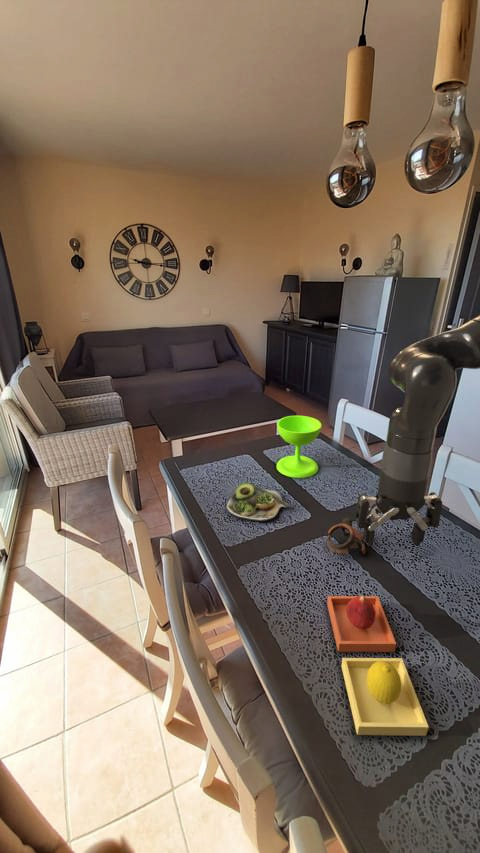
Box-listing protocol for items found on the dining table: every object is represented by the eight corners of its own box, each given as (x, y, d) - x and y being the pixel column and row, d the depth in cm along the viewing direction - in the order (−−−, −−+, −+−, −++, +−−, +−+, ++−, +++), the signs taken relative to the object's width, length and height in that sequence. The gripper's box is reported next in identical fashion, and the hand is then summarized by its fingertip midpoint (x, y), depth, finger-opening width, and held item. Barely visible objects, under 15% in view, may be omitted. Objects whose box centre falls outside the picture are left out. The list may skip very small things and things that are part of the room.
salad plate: (295, 496, 121) (295, 484, 119) (281, 529, 106) (281, 517, 104) (241, 485, 127) (240, 474, 126) (221, 516, 112) (220, 504, 110)
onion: (379, 633, 75) (384, 605, 72) (354, 641, 74) (358, 613, 70) (362, 609, 80) (366, 583, 77) (339, 616, 79) (343, 590, 75)
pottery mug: (369, 564, 93) (358, 546, 89) (334, 569, 98) (322, 552, 94) (365, 525, 102) (355, 508, 99) (334, 531, 107) (322, 514, 103)
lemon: (397, 718, 61) (405, 689, 58) (363, 706, 63) (368, 678, 59) (397, 686, 66) (403, 657, 62) (365, 675, 67) (370, 647, 64)
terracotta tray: (376, 604, 82) (377, 596, 81) (394, 652, 72) (396, 643, 71) (327, 603, 82) (327, 596, 81) (338, 652, 72) (339, 643, 71)
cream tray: (400, 666, 69) (402, 658, 68) (426, 735, 59) (428, 727, 58) (341, 666, 70) (342, 657, 69) (357, 735, 59) (358, 726, 58)
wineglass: (268, 470, 137) (268, 426, 129) (288, 453, 149) (289, 412, 141) (307, 482, 128) (310, 437, 121) (325, 463, 140) (328, 420, 133)
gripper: (369, 481, 58) (359, 558, 65) (459, 479, 57) (440, 557, 64) (356, 458, 65) (348, 529, 71) (437, 456, 64) (422, 528, 71)
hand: (392, 542), depth 68 cm, fingers open, 8 cm apart
